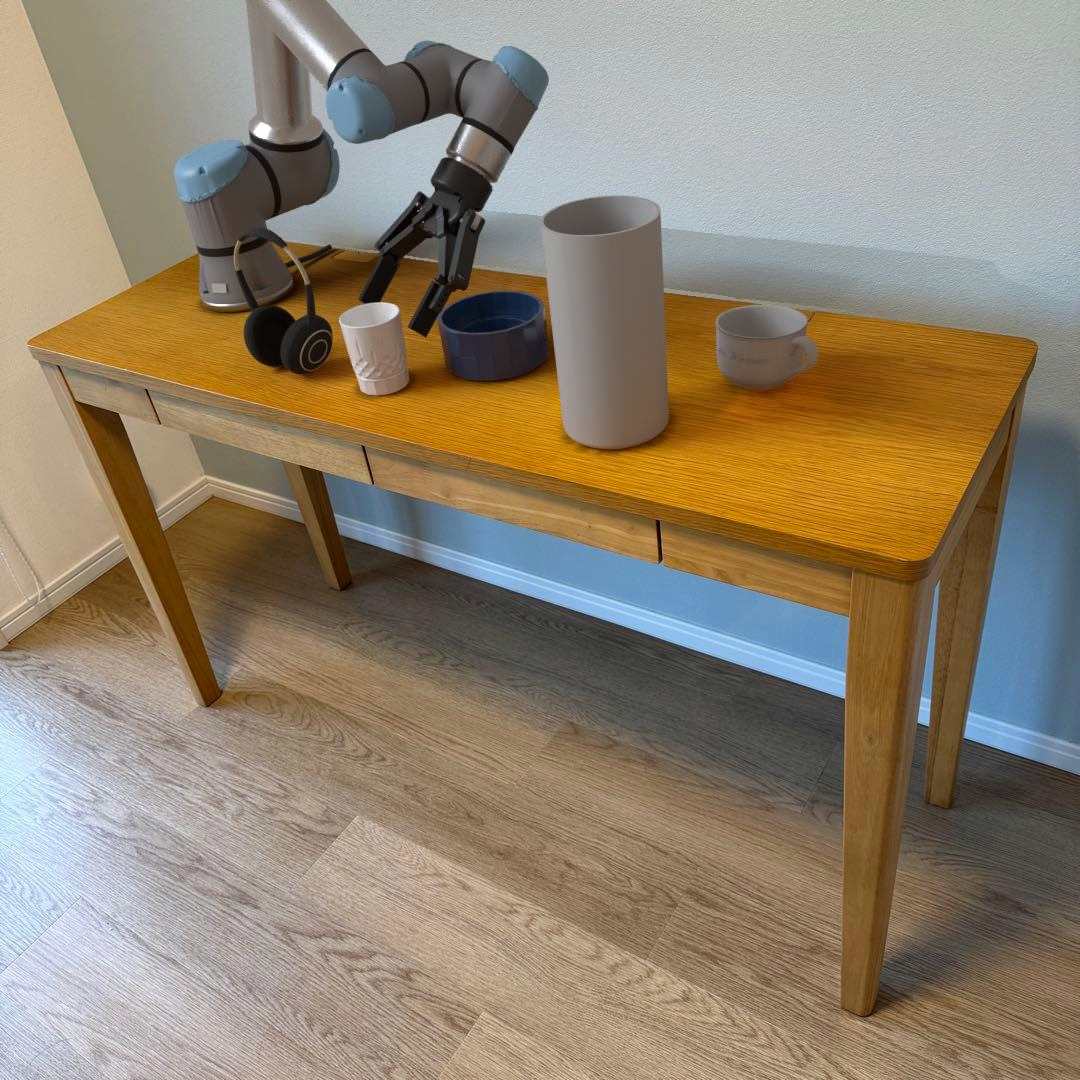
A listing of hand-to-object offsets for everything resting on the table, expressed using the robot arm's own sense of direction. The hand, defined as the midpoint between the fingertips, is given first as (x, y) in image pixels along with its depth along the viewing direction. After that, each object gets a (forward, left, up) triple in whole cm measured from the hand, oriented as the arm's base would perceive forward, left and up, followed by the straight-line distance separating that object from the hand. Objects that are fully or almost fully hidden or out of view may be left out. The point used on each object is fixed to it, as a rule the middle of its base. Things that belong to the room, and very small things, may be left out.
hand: (390, 318), depth 131 cm
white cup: (+2, -2, -9) cm, 9 cm away
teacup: (+6, +48, -9) cm, 49 cm away
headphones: (-4, -17, -9) cm, 19 cm away
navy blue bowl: (-4, +12, -9) cm, 16 cm away
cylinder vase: (+15, +30, -9) cm, 35 cm away
